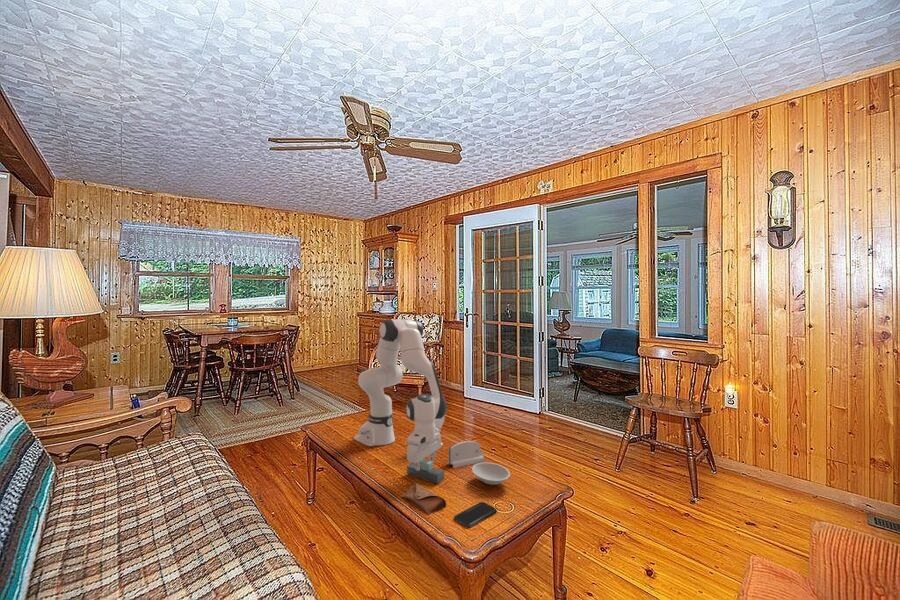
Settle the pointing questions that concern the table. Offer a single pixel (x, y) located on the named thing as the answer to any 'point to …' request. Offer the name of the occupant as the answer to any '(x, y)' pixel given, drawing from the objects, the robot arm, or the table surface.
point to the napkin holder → (465, 454)
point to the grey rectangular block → (426, 474)
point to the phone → (475, 514)
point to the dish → (491, 473)
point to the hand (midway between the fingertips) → (425, 465)
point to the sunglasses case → (424, 499)
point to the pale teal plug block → (426, 465)
